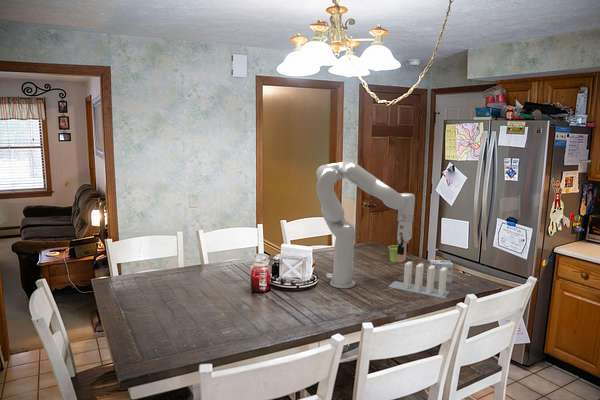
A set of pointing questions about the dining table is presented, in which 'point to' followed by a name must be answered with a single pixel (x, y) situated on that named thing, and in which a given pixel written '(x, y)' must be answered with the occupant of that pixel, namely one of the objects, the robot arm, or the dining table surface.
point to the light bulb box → (439, 265)
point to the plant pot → (393, 253)
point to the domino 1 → (403, 257)
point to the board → (412, 288)
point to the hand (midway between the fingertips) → (402, 252)
